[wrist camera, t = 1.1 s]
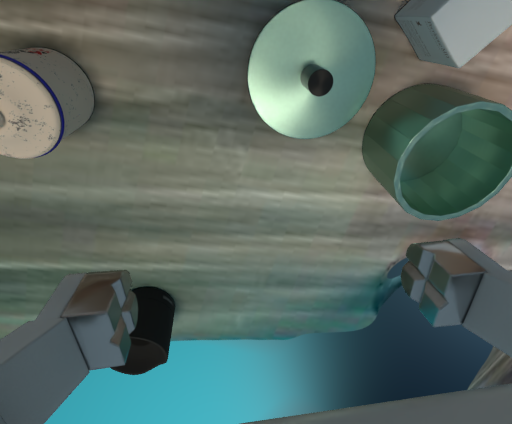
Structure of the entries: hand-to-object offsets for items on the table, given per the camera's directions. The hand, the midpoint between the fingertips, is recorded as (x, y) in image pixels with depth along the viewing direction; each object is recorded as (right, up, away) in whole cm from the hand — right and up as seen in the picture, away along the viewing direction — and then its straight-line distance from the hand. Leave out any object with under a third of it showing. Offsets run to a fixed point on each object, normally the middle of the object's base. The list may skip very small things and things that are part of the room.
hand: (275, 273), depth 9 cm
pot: (+20, +12, +31) cm, 39 cm away
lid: (+6, +17, +26) cm, 31 cm away
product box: (+18, +23, +24) cm, 38 cm away
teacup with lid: (-24, +15, +26) cm, 38 cm away
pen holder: (-19, -14, +45) cm, 51 cm away
